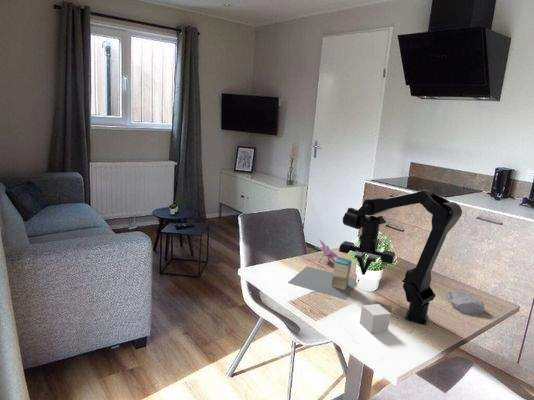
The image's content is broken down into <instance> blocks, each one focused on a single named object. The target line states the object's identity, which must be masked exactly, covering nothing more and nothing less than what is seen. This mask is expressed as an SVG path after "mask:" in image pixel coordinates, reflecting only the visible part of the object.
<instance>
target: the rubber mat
mask: <svg viewBox="0 0 534 400" xmlns="http://www.w3.org/2000/svg"><path fill="white" fill-rule="evenodd" d="M332 278H333V272H330V271H327V270H324V269H323V270H322V269H319V268H315V267H311V266H307V265H306V266H305V267H304V268H303V269H302V270H301V271H299V272H298V273H297V274H296V275H295V276H294V277H292V278H291V279H289V281H288V282H287V284H290V285H293V286H298V287H300V288H304V289H307V290H310V291H314V292H318V293H322V294H324V295H328V296H332V297H335V298H337V299H342V300H347V298H348V297H349V296H350V295H351V293H352V292H353V290H354V289H355V288H356V286H357V285H358V283H357V284H356V279H357V278H353V277H350V276H349V283H348V286H347V287H346V289H345V290H344V289H340V288H336V287H333V286H332Z"/></svg>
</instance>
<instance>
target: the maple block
mask: <svg viewBox="0 0 534 400" xmlns="http://www.w3.org/2000/svg"><path fill="white" fill-rule="evenodd" d="M334 260H335V262H334V264H333V270H332V271H333V272H332V273H333V278H332V286H333V287H336V288H340V289H344V290H345V289H346V287H347V286H348V283H349V277H350V275H351V268H352V261H353V260H352V259H349V258H346V257H342V256H338V258H335V259H334Z"/></svg>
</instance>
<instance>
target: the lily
mask: <svg viewBox="0 0 534 400" xmlns="http://www.w3.org/2000/svg"><path fill="white" fill-rule="evenodd" d="M318 240H319V242H320V244H321V246H318V249H319V250H321V251H322V256H321V258H320V259H319V261H318V264H319V263H320V262H321V260H322V259H323V258H324V257H327V258H326V259H328V260H330V259H331V260H332V262H334V263H335V260H336V259H337V258H338V257H339V256H338V255H337V254H336V253H335V252H334V251H332V250H331V249H330V247H329V245H326V244H325V243H324V242H323V240H322V239H320V238H318Z"/></svg>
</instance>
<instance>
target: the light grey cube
mask: <svg viewBox="0 0 534 400" xmlns="http://www.w3.org/2000/svg"><path fill="white" fill-rule="evenodd" d="M390 320H391V312H389V311H388V310H387V308H385V307H383V306H382V305H381V304H380V303H376V304H375V303H374V304H365V305H362V306H361V311H360V319H359V324H360V325H361V326H362V327H363V328H364V329H365V330H366V331H367V332H368V333H369V334H378V333H385V332H388V331H389V326H390Z"/></svg>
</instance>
